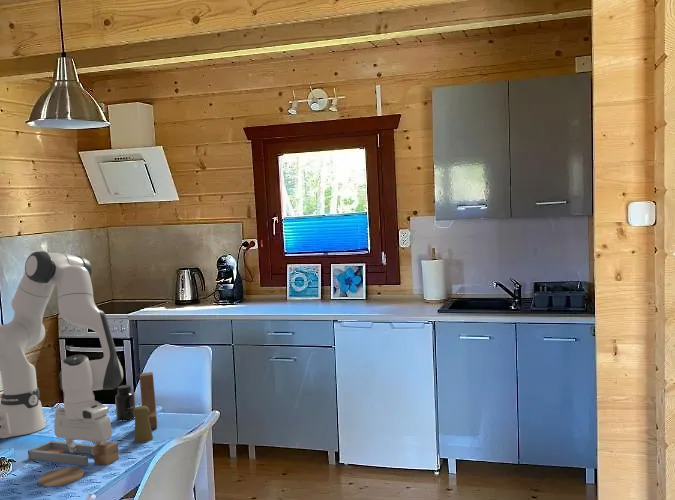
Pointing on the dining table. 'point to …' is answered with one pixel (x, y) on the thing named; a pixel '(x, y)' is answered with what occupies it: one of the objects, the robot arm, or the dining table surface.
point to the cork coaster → (61, 476)
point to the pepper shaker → (142, 424)
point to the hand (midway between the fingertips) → (84, 453)
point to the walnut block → (105, 453)
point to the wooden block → (148, 397)
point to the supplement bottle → (124, 403)
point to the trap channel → (60, 453)
